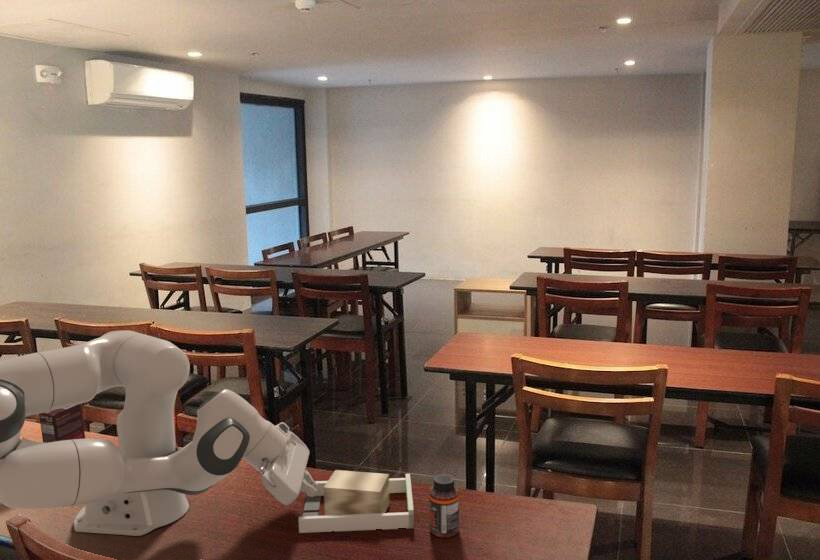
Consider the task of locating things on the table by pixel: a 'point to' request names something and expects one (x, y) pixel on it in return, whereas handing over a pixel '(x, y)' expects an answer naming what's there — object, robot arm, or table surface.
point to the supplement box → (62, 424)
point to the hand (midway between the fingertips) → (315, 491)
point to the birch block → (356, 493)
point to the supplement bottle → (444, 507)
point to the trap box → (358, 521)
